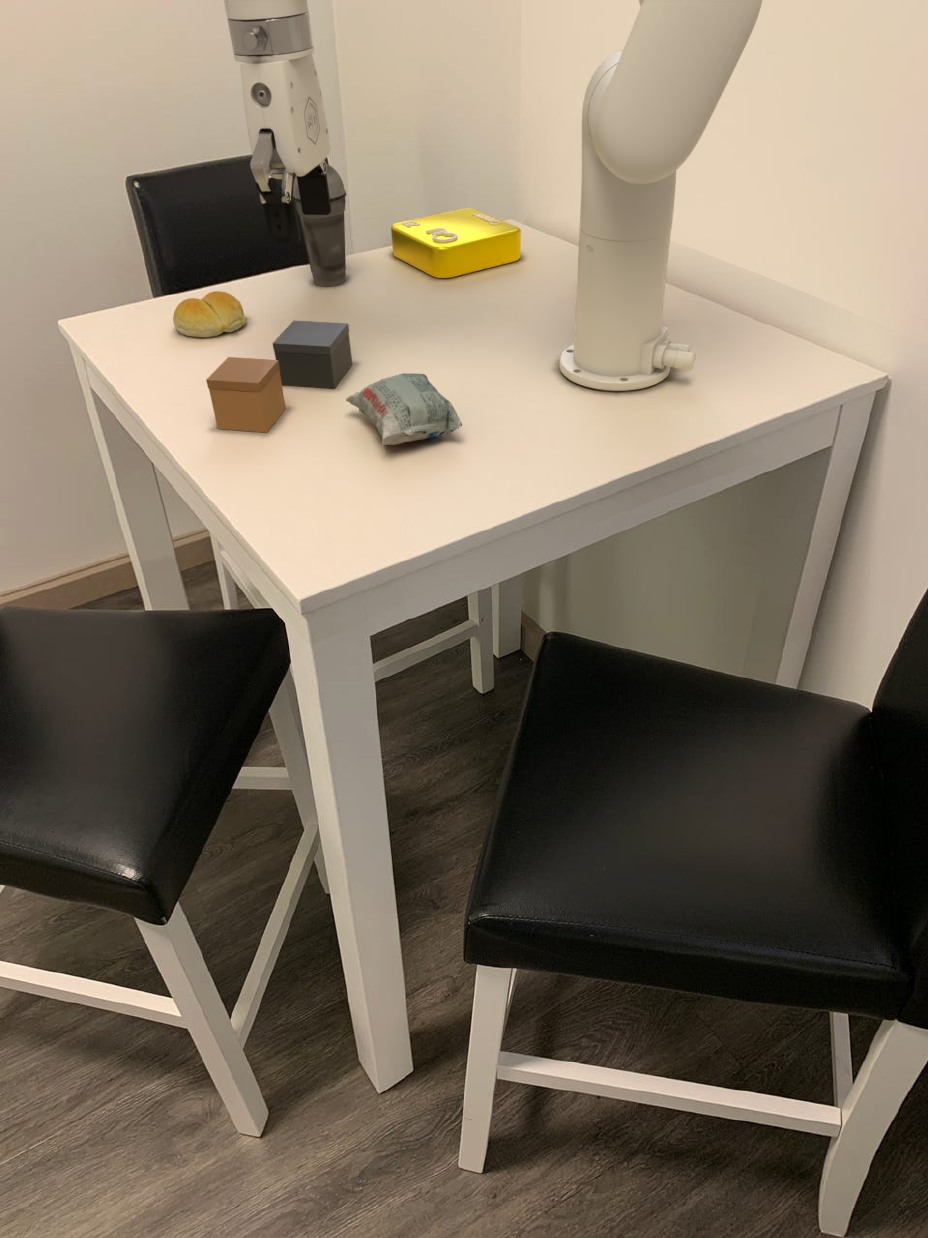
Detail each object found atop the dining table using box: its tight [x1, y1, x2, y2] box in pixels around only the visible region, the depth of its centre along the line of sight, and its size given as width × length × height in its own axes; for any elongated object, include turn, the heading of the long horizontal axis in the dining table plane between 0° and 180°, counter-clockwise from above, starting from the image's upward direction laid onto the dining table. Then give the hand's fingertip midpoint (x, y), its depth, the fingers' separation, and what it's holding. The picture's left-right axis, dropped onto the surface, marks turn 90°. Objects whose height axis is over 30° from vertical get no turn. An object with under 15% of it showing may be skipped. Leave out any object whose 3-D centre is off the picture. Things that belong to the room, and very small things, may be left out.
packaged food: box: [345, 372, 463, 446], centre depth 96 cm, size 9×12×5 cm
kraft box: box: [205, 356, 287, 434], centre depth 98 cm, size 6×6×6 cm
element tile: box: [390, 207, 522, 279], centre depth 138 cm, size 15×15×5 cm
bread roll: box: [172, 290, 248, 338], centre depth 119 cm, size 8×9×4 cm
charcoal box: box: [272, 320, 353, 390], centre depth 107 cm, size 7×7×5 cm
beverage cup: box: [292, 163, 347, 288], centre depth 126 cm, size 7×7×20 cm
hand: (302, 227), depth 98 cm, fingers open, 9 cm apart
